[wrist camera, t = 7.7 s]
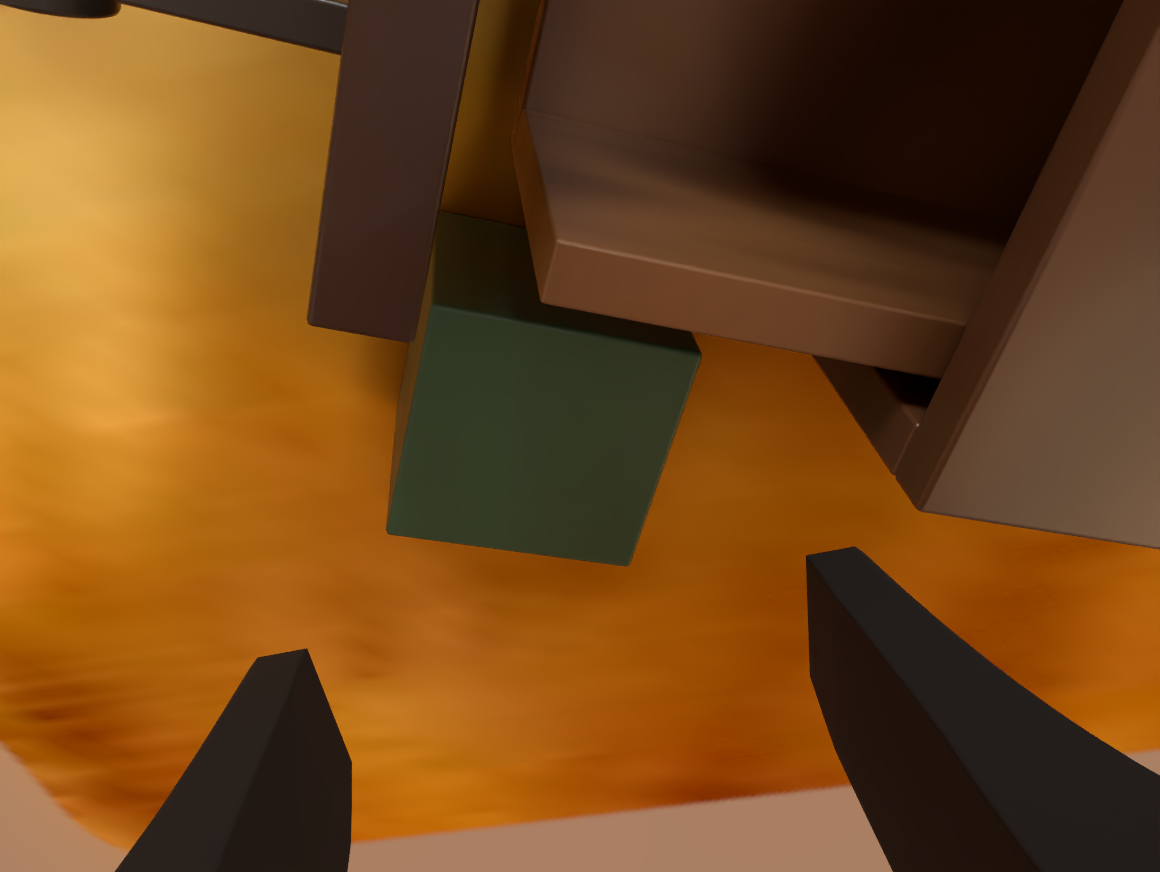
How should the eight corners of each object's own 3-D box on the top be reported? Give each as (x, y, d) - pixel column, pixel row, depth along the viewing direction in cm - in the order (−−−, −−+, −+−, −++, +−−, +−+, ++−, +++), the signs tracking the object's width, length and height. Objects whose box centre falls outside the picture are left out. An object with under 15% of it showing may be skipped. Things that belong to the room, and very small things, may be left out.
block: (434, 207, 19) (430, 302, 15) (656, 254, 20) (704, 354, 16) (396, 409, 21) (385, 536, 17) (599, 441, 22) (629, 568, 18)
